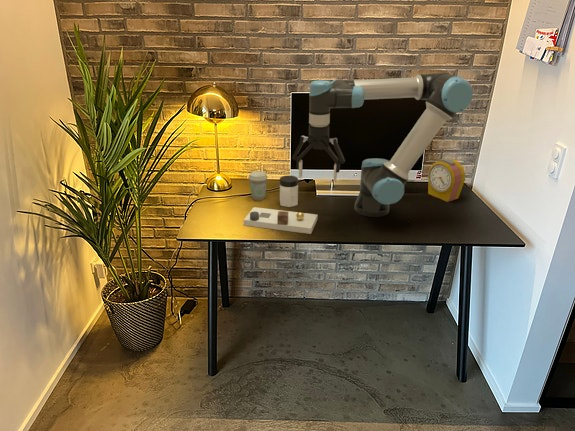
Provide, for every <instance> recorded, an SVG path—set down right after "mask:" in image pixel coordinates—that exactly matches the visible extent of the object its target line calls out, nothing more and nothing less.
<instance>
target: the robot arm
mask: <svg viewBox="0 0 575 431" xmlns="http://www.w3.org/2000/svg"><path fill="white" fill-rule="evenodd" d="M308 95H309V113H308V116H309V117H308V124H309V125H308V136H305V135H301V136H300V138H299V143H298V145H297V147H296V148H295V151H294V152H293V154H292V155H291V156H292V157H291V159H292V160H294V161H296V165H295V166H296V167H295V168H296V170H298V179H301V178H302V177H303V160H302V158H304V157H305V155H307V153H308V152H309V151H310V150H311V149H314V150H320V151H322V150H324V151H325V152H326V153H327V154H328V156H330V158H331V159H332V160H333V162H334V165H333V182H336V181H337V179H338V178H337V177H338V176H337V175H338V173H339V172H340V170H341V164H345V162H346V158H345V157H344V154H343V152H342V149H341V148H340V144H339V143H338V137H334V138H333V137H332V138H330V123H331V122H330V121H331V119H330V118H331V117H330V116H331V109H347V108H348V109H349V108H351V109H355V108H360V107H362V106H363V105H364V102H365V100H380V99H381V100H384V99H385V100H386V99H404V98H405V99H406V98H407V99H408V98H409V99H410V98H414V99H415V100H417V101H419V100H420V101H425V106H426V109H425V110H424V111H423V113H422V114H421V116H420V117H419V118H418V119H417V121H416V123H414V126H413V127H412V129H411V130H410V132H409V133H408V134H407V136H406V137H405V138H404V140H403V141H402V143H401V145H400V146H399V147H398V148H397V150H396V152H394V155H393V156H392V157H391V159H390V160H389V159H385V158H377V157H376V158H366V159H364V160H362V162H361V163H362V164H361V167H360V168H361V169H360V170H361V172H360V182H359V184H360V185H359V194H358V196H357V198H356V199H355V202H354V205H353V206H354V208H353V209H354V211H355V212H356V213H357V214H359V215H361V216H364V217H370V218H380V217H384V216H386V215H388V214H389V213H390V205H393V204H396V203H398V202H399V201H400V200H401V199H402V198H403V196H404V194H405V185H406V184H407V182H408V181H409V172H410V171H411V170H412V168H413V167H414V165H415V164H416V163H417V161H418V160H419V158H421V156H422V155H423V153H424V152H425V151H426V149H427V147H428V146H430V144H431V142H432V141H433V139H434V138H435V137H436V135H437V134H438V132H439V131H440V129H441V128H442V127H443V126H444V124H445V123H446V122H447V121H450V120H453V119H454V117H455V116H456V114H457V113H461V112H463V111H465V110H466V109H467V108H468V107H469V106H470V105H471V103H472V101H473V97H474V93H473V87H472V85H471V83H470V82H469V81H468V80H466V79H465V78H463V77H461V76H457V75H453V74H451V73H448V72H434V73H432V72H431V73H423V74H417V75H415V76H414V77H397V78H390V77H389V78H375V79H374V78H371V79H368V78H367V79H353V80H352V79H351V80H350V79H349V80H348V79H347V80H343V79H341V78H335V79H334V80H332V81H329V80H324V79H323V80H314V81H311V83H310V85H309V93H308ZM306 141H307V143H309V145H308V146H307V147H306V148H305V150H303V151H302V152H301V153H300V154H299V152H300V151H301V149H302V146H303V145H304V143H305V142H306ZM329 143H331V144H332V145H333V148H334V150H335V152H334V151H333V150H332V149H331V147H330V145H329ZM298 154H299V155H298Z"/></svg>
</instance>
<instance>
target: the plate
mask: <svg viewBox="0 0 575 431" xmlns="http://www.w3.org/2000/svg"><path fill="white" fill-rule="evenodd" d="M278 211H283V210H282V209H280V210H279V209H272V208H263V207H254V206H253V207H252V209H251V210H250V211H249V212H248V214H247V215H246V216H245V218H244V219H243V226H245V227H255V228H262V229H270V230H276V231H285V232H292V233H299V234H300V233H301V234H309V235H311V234H312V232H313V230H314V228H315V226H316V224H317V221H318V219H319V218H318V216H319V215H318V214H314V213H307V212H305V213H304V212H302V213H303V214H304V218H303V219H302V220H298V219H297V218H296V215H297V213H298V212H297V211H291V210H290V211H289V210H285V211H286V212H288V225H278V224H277V215H278ZM251 212H258V213H259V220H257V221H252V220H250V213H251Z"/></svg>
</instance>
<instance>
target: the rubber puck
mask: <svg viewBox="0 0 575 431" xmlns="http://www.w3.org/2000/svg"><path fill="white" fill-rule="evenodd" d="M249 213H250V212H249ZM250 220H252V221H257V220H259V213H258V212H251V213H250Z"/></svg>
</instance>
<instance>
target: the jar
mask: <svg viewBox="0 0 575 431" xmlns="http://www.w3.org/2000/svg"><path fill="white" fill-rule="evenodd" d="M298 202H299V177H297V176H294V175H283V176H280V178H279V205H280V206H282V207H286V208H292V207H295V206H298Z"/></svg>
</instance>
